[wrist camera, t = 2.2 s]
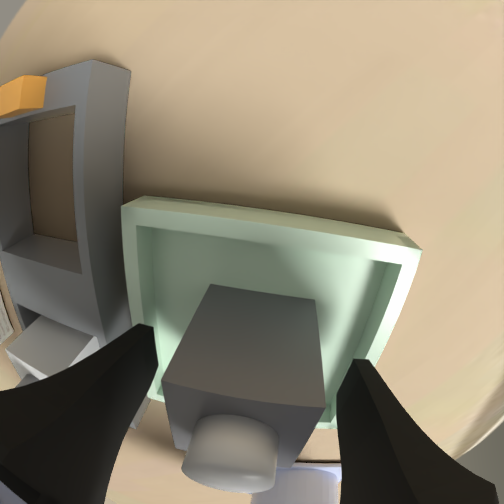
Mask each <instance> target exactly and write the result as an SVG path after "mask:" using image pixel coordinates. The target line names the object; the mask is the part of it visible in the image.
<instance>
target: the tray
mask: <svg viewBox="0 0 504 504" xmlns="http://www.w3.org/2000/svg"><path fill="white" fill-rule="evenodd" d="M121 223H122V241H123V254H124V266H125V275H126V284H127V292H128V300H129V307H130V314H131V320H132V326H135V325H137V324H138V323H141V324H144V325H148V326H152V327H154V335H155V343H156V350H157V357H158V363H159V366H158V369H157V371H156V374H155V377H154V379H153V382H152V384H151V387H150V389H149V391H148V393H147V396H148V398H151V399H154V400H157V401H161V402H164V403H165V400H164V395H163V390H162V384H161V379H162V377H163V375H164V373H165V371H166V369H167V367H168V365H169V363H170V361H171V359H172V357H173V355H174V353H175V351H176V349H177V347H178V345H179V343H180V341H181V339H182V337H183V335H184V333H185V331H186V329H187V327H188V325H189V323H190V322H191V320H192V318H193V316H194V314H195V312H196V310H197V308H198V306H199V304H200V302H201V300H202V299H203V297H204V295H205V293H206V291H207V289H208V287H209V285H210V284H215V285H221V286H227V287H233V288H239V289H246V290H252V291H258V292H265V293H272V294H278V295H285V296H292V297H299V298H306V299H314V300H315V304H316V312H317V320H318V328H319V337H320V346H321V356H322V366H323V377H324V388H325V401H326V409H325V410H324V412H323V414H322V416H321V418H320V420H319V422H318V423H317V425H316V427H315V428H325V429H337V421H336V393H337V392H338V390H339V388H340V386H341V384H342V382H343V379H344V377H345V375H346V373H347V371H348V369H349V367H350V365H351V363H352V360H353V358H354V359H369V360H370V362H371V363H372V365H373V366H374V367H375V365H376V363H377V361H378V359H379V357H380V355H381V353H382V351H383V349H384V347H385V345H386V343H387V341H388V339H389V337H390V335H391V332H392V330H393V328H394V326H395V323H396V321H397V319H398V316H399V314H400V312H401V309H402V307H403V304H404V302H405V299H406V297H407V294H408V291H409V289H410V286H411V283H412V280H413V278H414V275H415V272H416V269H417V266H418V263H419V260H420V257H421V254H422V251H423V250H422V249H421V248H420V247H419V246H418V245H417V244H416V243H414V242H413V241H412V240H411V239H410V238H409V237H408V236H407V235H406V234H405V233H400V232H396V231H390V230H385V229H380V228H375V227H370V226H364V225H359V224H353V223H348V222H342V221H336V220H330V219H324V218H318V217H312V216H306V215H299V214H293V213H286V212H280V211H273V210H266V209H259V208H251V207H244V206H236V205H228V204H220V203H212V202H203V201H194V200H185V199H175V198H165V197H155V196H142V197H140V198H137V199H135V200H133V201H131V202H128V203H126V204H124V205H122V206H121Z"/></svg>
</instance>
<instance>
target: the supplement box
mask: <svg viewBox="0 0 504 504" xmlns="http://www.w3.org/2000/svg"><path fill="white" fill-rule="evenodd" d="M13 332H14V330H13V328H12V326H11V324H10V322H9V319H8V316H7V313H6V310H5V307H4V303H3V300H2V296H1V293H0V345H1V344H2V343H3V342H4V341H5V340H6V339H7V338H8V337H9V336H10V335H11V334H12V333H13Z"/></svg>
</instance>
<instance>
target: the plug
mask: <svg viewBox="0 0 504 504" xmlns="http://www.w3.org/2000/svg"><path fill="white" fill-rule="evenodd" d="M161 384H162V390H163V395H164V400H165V405H166V410H167V414H168V419H169V423H170V428H171V432H172V436H173V440H174V444H175V448H177V449H181V450H184V451H187V452H186V455H185V458H184V462H183V465H182V468H181V469H182V472H183V473H184V474H185V475H186V476H187V477H189V478H190V479H192V480H194V481H196V482H198V483H200V484H202V485H205V486H208V487H211V488H215V489H219V490H223V491H229V492H237V493H256V492H262V491H266V490H269V489H271V488H272V487H273V486H274V484H275V475H276V467H285V468H291V467H292V465H293V464H294V462H295V460H296V459H297V457H298V456H299V454H300V452H301V451H302V449H303V448H304V446H305V444H306V443H307V441H308V439H309V437H310V436H311V434H312V432H313V430H314V429H315V427H316V425H317V423H318V422H319V420H320V418H321V416H322V414H323V412H324V410H325V409H326V401H325V388H324V377H323V366H322V356H321V346H320V337H319V328H318V320H317V312H316V304H315V300H314V299H306V298H299V297H292V296H285V295H278V294H272V293H265V292H258V291H252V290H246V289H239V288H233V287H227V286H221V285H215V284H210V285H209V287H208V289H207V291H206V293H205V295H204V297H203V299H202V300H201V302H200V304H199V306H198V308H197V310H196V312H195V314H194V316H193V318H192V320H191V322H190V323H189V325H188V327H187V329H186V331H185V333H184V335H183V337H182V339H181V341H180V343H179V345H178V347H177V349H176V351H175V353H174V355H173V357H172V359H171V361H170V363H169V365H168V367H167V369H166V371H165V373H164V375H163V377H162V379H161Z"/></svg>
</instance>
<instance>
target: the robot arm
mask: <svg viewBox="0 0 504 504" xmlns="http://www.w3.org/2000/svg"><path fill="white" fill-rule="evenodd" d="M158 366H159V363H158V357H157V350H156V343H155V335H154V327H152V326H148V325H144V324H141V323H138V324H137V325H135V326H133V327H132V328H130V329H129V330H127V331H126V332H125V333H123V334H122V335H120V336H119V337H117V338H116V339H114V340H113V341H111V342H110V343H108V344H107V345H105V346H104V347H102V348H101V349H99V350H98V351H96V352H94V353H93V354H91V355H89V356H88V357H86V358H84V359H83V360H81V361H79V362H77V363H76V364H74V365H72V366H70V367H68V368H66V369H64V370H62V371H60V372H58V373H56V374H54V375H51V376H49V377H47V378H44V379H41V380H39V381H36V382H33V383H30V384H27V385H24V386H21V387H17V388H13V389H9V390H4V391H0V504H104V501H105V497H106V492H107V488H108V484H109V480H110V477H111V473H112V470H113V467H114V464H115V461H116V458H117V455H118V452H119V449H120V447H121V444H122V441H123V439H124V436H125V434H126V432H127V430H128V428H129V426H130V424H131V422H132V421H133V419H134V417H135V415H136V413H137V411H138V409H139V408H140V406H141V404H142V402H143V400H144V398H145V396H146V395H147V393H148V391H149V389H150V387H151V384H152V382H153V379H154V377H155V374H156V371H157V369H158ZM336 421H337V430H338V439H339V448H340V458H341V463H296V462H294V464H293V465H292V467H291V468H285V467H276V475H275V484H274V486H273V487H272V488H271V489H269V490H266V491H262V492H256V493H248V494H252V498H251V504H338V483H339V482H340V481H341V497H340V504H499V501H498V496H497V492H496V488H495V485H494V484H492V483H491V482H489V481H487V480H485V479H483V478H481V477H479V476H477V475H475V474H473V473H472V472H471V471H469V470H468V469H466V468H465V467H463V466H461V465H460V464H459V463H457V462H456V461H455V460H454V459H452V458H451V457H450V456H449V455H448V454H446V453H445V452H444V451H443V450H442V449H441V448H439V447H438V446H437V445H436V444H435V443H434V442H433V441H432V440H431V439H430V438H429V437H428V436H427V435H426V434H425V433H424V432H423V431H422V430H421V428H420V427H419V426H418V425H417V424H416V423H415V421H414V420H413V419H412V418H411V417H410V415H409V414H408V413H407V412H406V410H405V409H404V408H403V407H402V405H401V404H400V403H399V401H398V400H397V399H396V397H395V396H394V394H393V393H392V392H391V390H390V389H389V387H388V386H387V385H386V383H385V382H384V380H383V379H382V377H381V376H380V375H379V373H378V372H377V370H376V369H375V367H374V366H373V365H372V363H371V362H370V360H369V359H354V358H353V360H352V363H351V365H350V367H349V369H348V371H347V373H346V375H345V377H344V379H343V382H342V384H341V386H340V388H339V390H338V392H337V393H336Z"/></svg>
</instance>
